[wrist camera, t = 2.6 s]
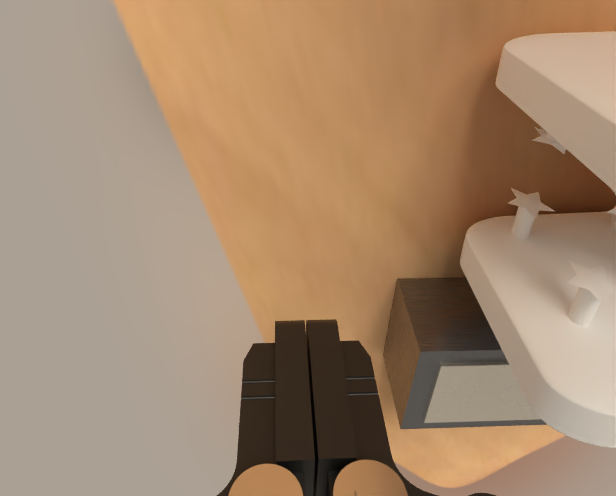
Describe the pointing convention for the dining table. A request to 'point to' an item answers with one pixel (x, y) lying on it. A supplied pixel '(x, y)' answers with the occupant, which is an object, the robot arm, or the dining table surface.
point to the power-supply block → (449, 360)
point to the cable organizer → (557, 241)
